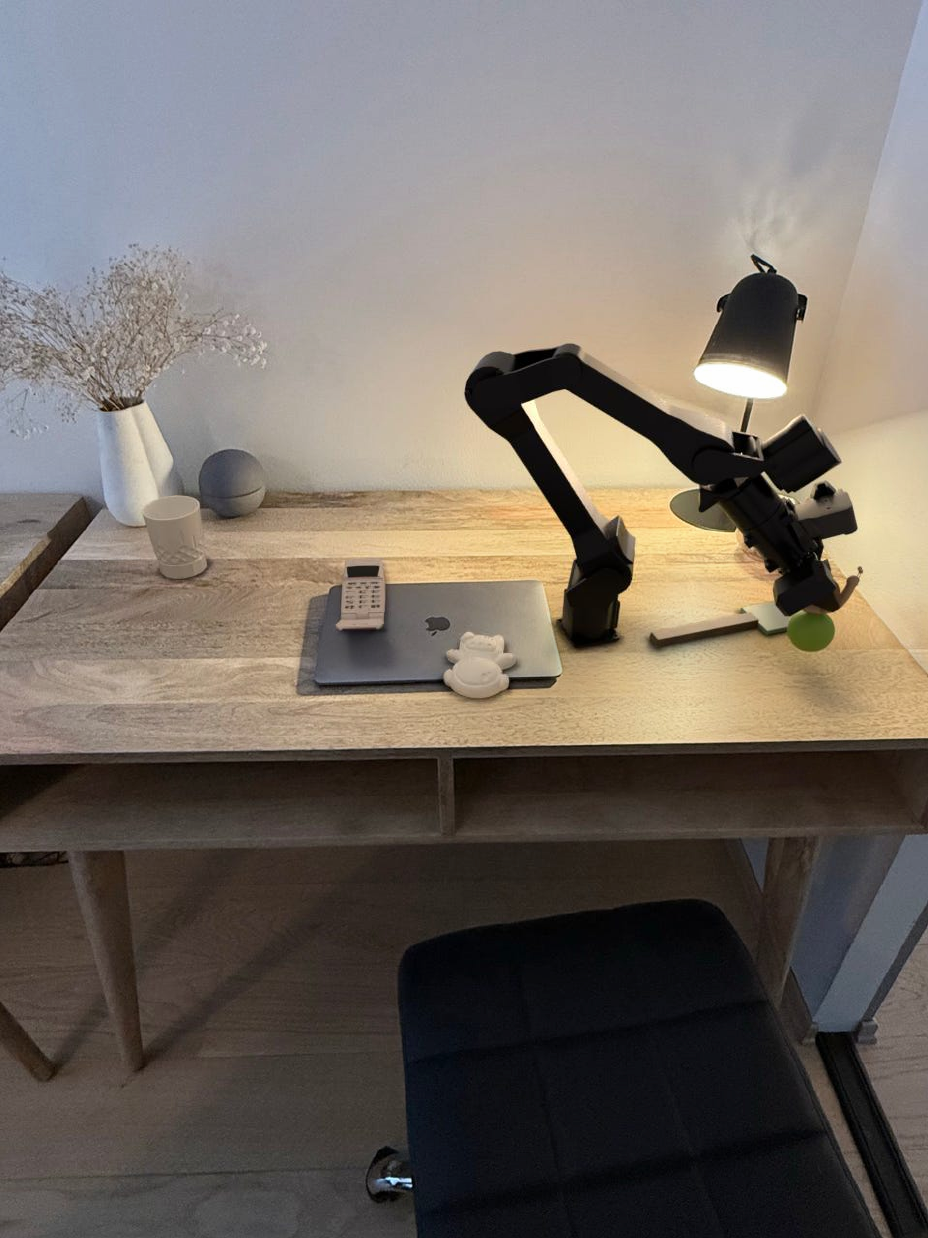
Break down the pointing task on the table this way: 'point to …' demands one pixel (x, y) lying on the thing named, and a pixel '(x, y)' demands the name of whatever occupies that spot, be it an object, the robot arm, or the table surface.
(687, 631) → the spatula
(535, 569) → the table surface
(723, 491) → the robot arm
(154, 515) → the white cup
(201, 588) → the table surface
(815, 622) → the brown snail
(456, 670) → the white animal figurine
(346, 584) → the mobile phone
